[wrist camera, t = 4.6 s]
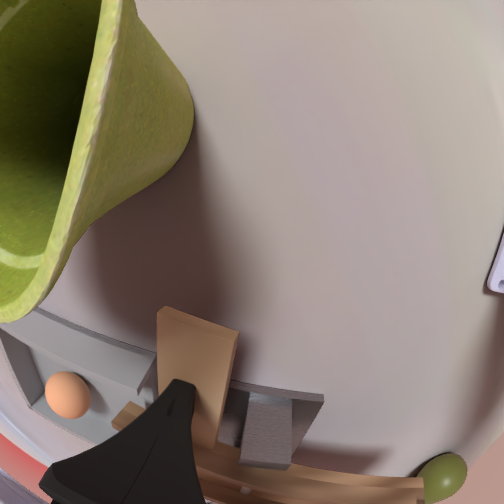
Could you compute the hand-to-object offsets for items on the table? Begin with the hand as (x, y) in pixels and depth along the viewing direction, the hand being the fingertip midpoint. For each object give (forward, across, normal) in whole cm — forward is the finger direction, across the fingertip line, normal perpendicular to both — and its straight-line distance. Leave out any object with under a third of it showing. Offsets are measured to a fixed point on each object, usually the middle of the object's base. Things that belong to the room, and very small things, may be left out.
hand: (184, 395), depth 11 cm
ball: (+1, +9, +6) cm, 11 cm away
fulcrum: (+3, -4, +6) cm, 8 cm away
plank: (0, -5, +3) cm, 6 cm away
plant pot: (+4, +5, -11) cm, 12 cm away
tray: (+4, +9, +6) cm, 11 cm away
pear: (+4, -24, +14) cm, 28 cm away
